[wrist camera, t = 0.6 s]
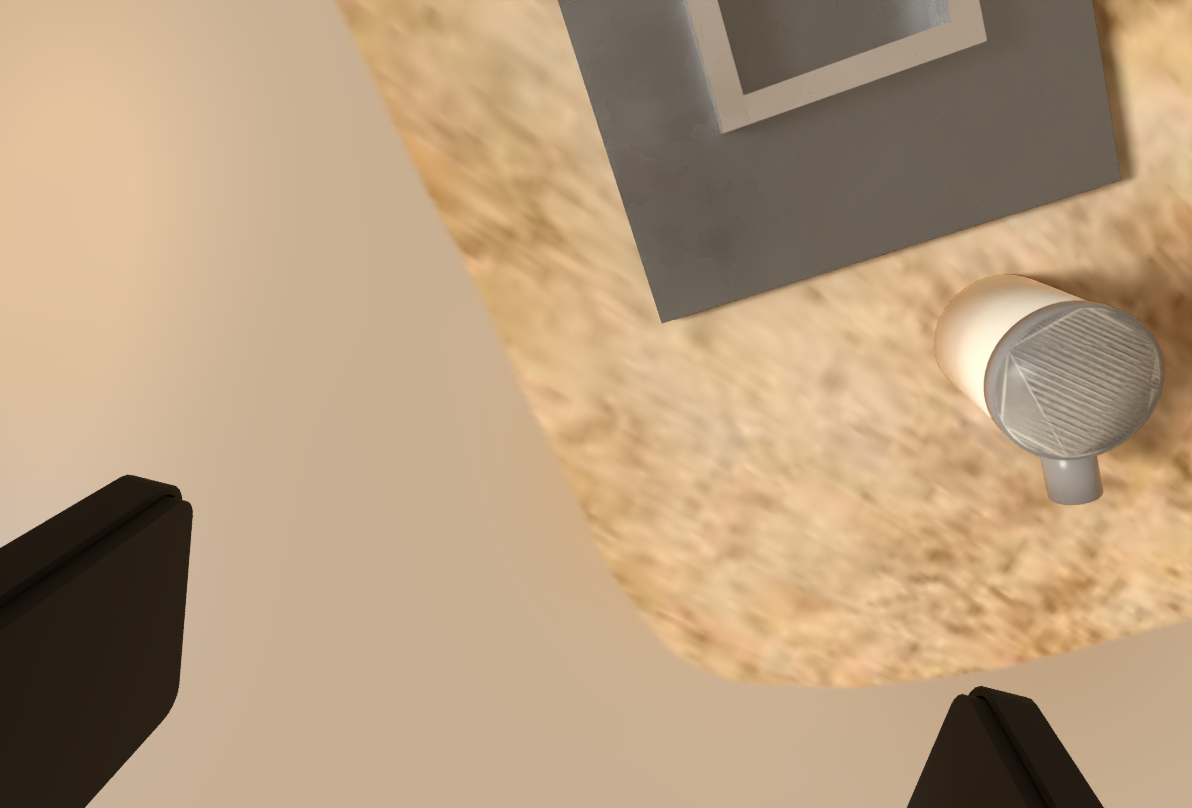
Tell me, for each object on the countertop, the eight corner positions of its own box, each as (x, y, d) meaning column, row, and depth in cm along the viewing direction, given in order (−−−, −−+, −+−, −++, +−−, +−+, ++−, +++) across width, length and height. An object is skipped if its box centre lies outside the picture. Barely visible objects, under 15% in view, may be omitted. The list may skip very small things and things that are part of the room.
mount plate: (1019, -357, 27) (1062, -419, 24) (1107, 178, 32) (1153, 182, 29) (516, -138, 31) (497, -169, 28) (662, 318, 35) (660, 335, 32)
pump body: (1055, 254, 33) (1151, 283, 26) (1088, 428, 35) (1184, 496, 28) (918, 295, 34) (976, 333, 27) (957, 463, 36) (1021, 535, 29)
